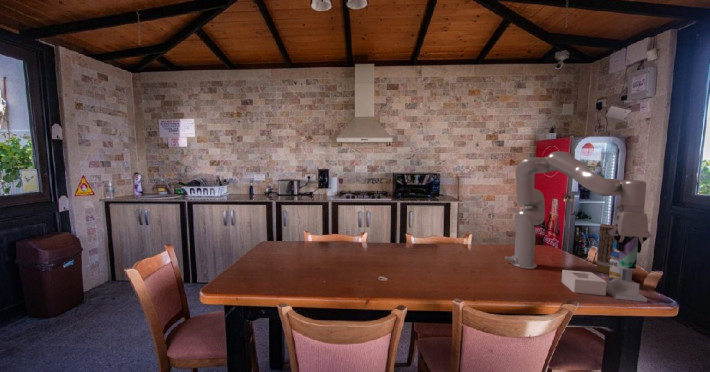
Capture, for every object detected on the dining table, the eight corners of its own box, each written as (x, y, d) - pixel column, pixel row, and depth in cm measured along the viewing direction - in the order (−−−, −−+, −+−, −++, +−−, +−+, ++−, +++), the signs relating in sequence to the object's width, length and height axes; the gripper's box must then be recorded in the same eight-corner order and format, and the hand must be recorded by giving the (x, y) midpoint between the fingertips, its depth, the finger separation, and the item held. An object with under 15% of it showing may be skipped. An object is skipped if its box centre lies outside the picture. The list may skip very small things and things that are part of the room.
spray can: (615, 266, 130) (618, 220, 129) (626, 265, 131) (630, 220, 129) (627, 270, 125) (631, 223, 123) (639, 270, 125) (643, 223, 124)
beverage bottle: (633, 289, 135) (637, 246, 134) (609, 285, 140) (613, 243, 138) (629, 283, 142) (632, 242, 141) (606, 279, 147) (609, 239, 145)
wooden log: (616, 274, 154) (620, 227, 152) (601, 273, 155) (604, 226, 153) (607, 270, 161) (611, 224, 159) (593, 269, 162) (596, 223, 160)
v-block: (600, 288, 136) (601, 276, 136) (629, 291, 134) (630, 279, 133) (615, 298, 126) (616, 286, 125) (647, 301, 123) (648, 289, 123)
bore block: (574, 292, 131) (575, 279, 131) (561, 282, 143) (562, 269, 142) (605, 295, 129) (606, 282, 128) (590, 284, 140) (591, 272, 140)
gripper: (613, 209, 124) (610, 252, 125) (663, 211, 120) (659, 255, 122) (603, 207, 131) (600, 247, 133) (649, 209, 128) (645, 250, 129)
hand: (628, 251), depth 127 cm, fingers closed on spray can, 5 cm apart
